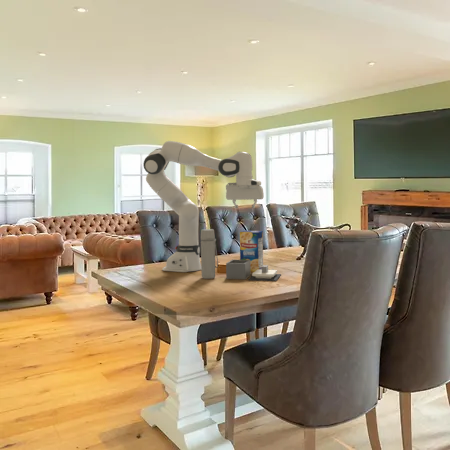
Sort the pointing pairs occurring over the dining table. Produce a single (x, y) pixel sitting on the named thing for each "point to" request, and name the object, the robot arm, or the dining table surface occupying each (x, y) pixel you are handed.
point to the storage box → (238, 269)
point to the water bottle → (208, 253)
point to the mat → (265, 278)
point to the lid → (264, 272)
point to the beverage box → (252, 248)
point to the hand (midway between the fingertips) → (244, 208)
